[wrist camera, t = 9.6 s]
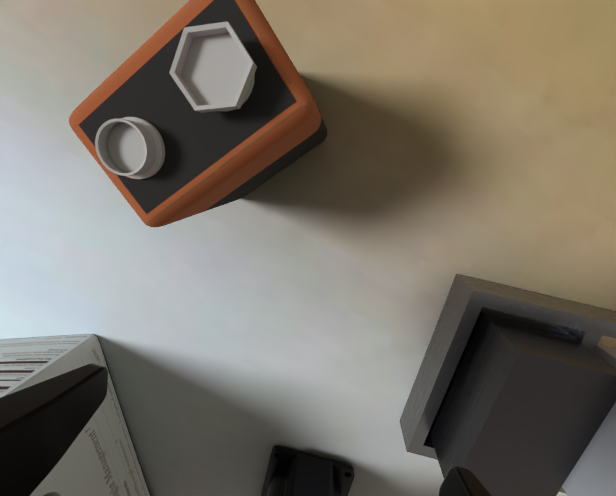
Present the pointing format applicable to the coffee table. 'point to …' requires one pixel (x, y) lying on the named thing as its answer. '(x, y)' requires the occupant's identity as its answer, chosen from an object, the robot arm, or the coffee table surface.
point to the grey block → (597, 453)
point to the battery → (199, 113)
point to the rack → (511, 387)
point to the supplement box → (98, 431)
